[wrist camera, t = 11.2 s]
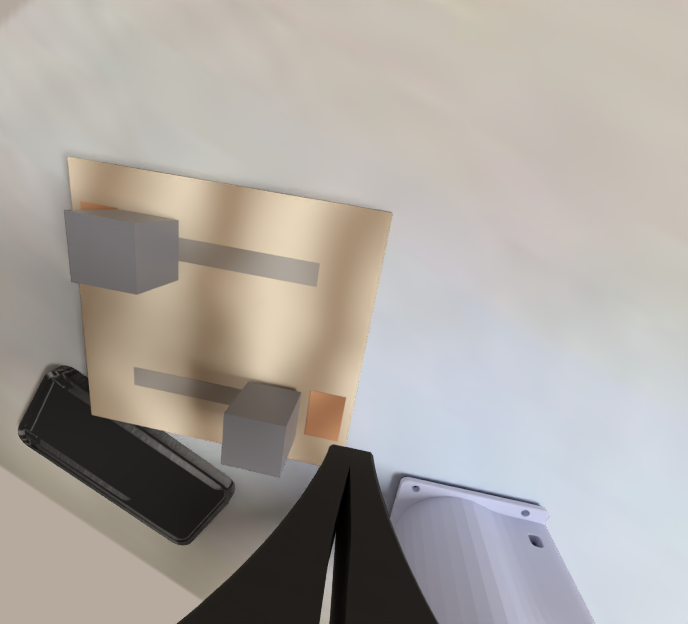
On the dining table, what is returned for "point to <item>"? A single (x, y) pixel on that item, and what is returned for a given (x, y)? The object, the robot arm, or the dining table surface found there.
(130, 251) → the switch tab
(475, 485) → the dining table surface
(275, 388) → the switch tab
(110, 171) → the switch board
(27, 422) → the phone
